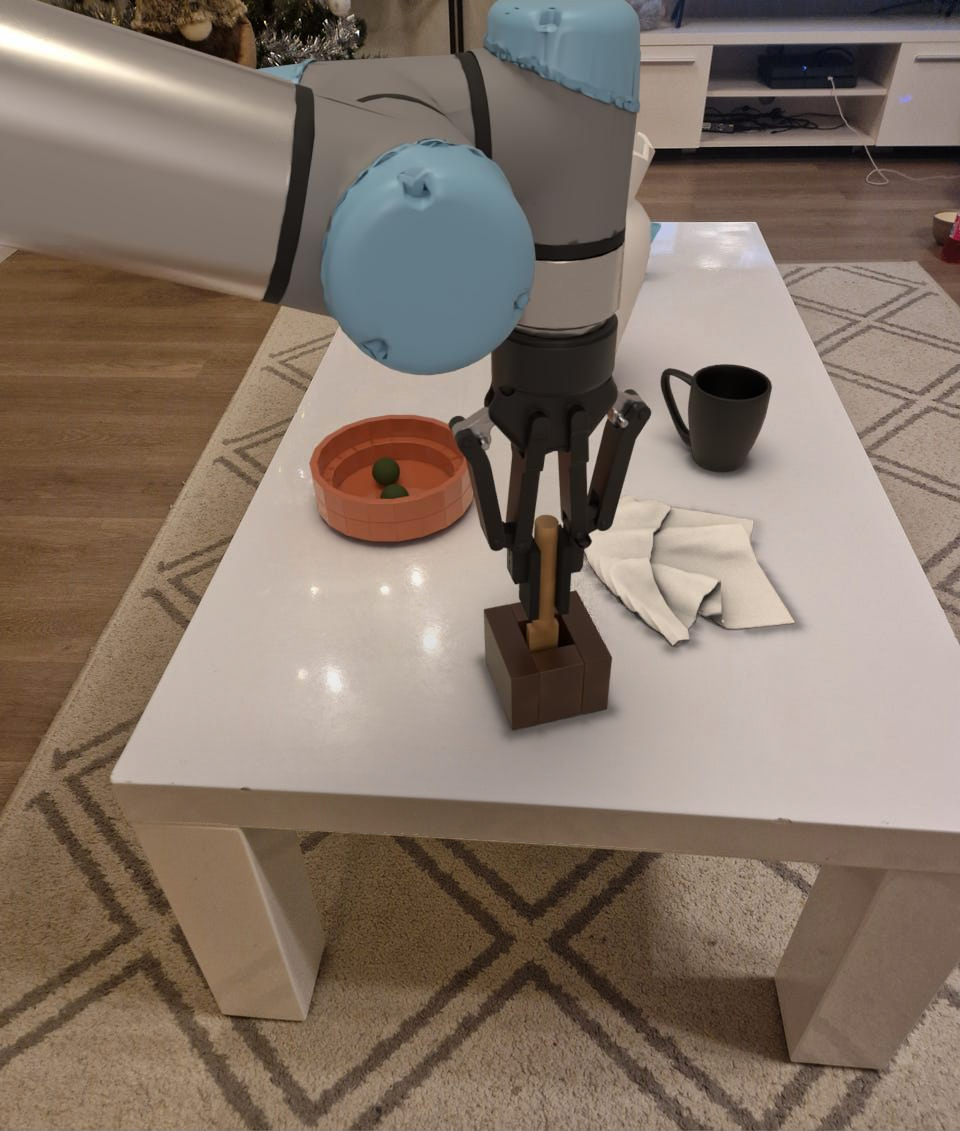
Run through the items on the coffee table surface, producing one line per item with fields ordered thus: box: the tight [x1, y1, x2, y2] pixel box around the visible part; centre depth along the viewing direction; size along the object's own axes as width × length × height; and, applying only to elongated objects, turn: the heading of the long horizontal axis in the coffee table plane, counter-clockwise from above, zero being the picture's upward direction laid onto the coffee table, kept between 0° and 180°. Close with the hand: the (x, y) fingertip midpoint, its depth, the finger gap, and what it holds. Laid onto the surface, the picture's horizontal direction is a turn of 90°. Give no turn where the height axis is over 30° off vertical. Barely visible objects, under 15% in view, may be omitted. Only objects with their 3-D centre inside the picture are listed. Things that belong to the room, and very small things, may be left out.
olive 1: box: [372, 457, 400, 486], centre depth 92 cm, size 3×3×3 cm
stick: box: [526, 514, 560, 654], centre depth 65 cm, size 2×2×15 cm
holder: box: [483, 589, 613, 732], centre depth 69 cm, size 8×8×6 cm
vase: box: [615, 131, 656, 353], centre depth 100 cm, size 15×15×29 cm
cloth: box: [584, 495, 795, 646], centre depth 81 cm, size 20×22×2 cm
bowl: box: [308, 414, 474, 542], centre depth 90 cm, size 17×17×6 cm
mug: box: [660, 363, 773, 473], centre depth 94 cm, size 8×12×10 cm
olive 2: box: [380, 484, 409, 499], centre depth 88 cm, size 3×3×3 cm
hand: (543, 605), depth 65 cm, fingers closed on stick, 2 cm apart
